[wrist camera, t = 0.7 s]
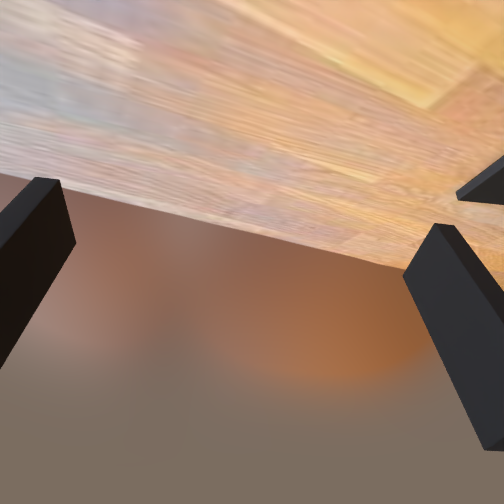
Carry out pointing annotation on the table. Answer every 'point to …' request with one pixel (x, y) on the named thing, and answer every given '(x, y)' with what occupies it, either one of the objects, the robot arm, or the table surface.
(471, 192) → the mat
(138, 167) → the table surface
